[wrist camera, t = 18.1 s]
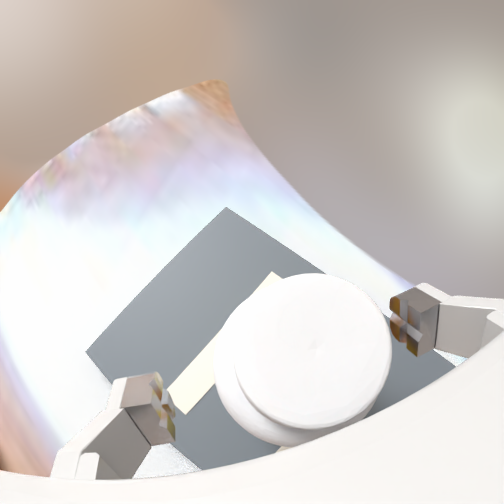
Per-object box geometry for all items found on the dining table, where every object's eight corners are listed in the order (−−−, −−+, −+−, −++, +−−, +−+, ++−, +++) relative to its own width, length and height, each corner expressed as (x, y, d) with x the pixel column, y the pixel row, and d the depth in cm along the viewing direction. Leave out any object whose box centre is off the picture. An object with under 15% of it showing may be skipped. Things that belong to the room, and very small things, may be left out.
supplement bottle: (337, 419, 14) (435, 430, 5) (237, 433, 14) (206, 475, 5) (324, 327, 17) (391, 236, 8) (229, 338, 17) (193, 254, 8)
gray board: (447, 372, 16) (459, 368, 15) (329, 539, 11) (334, 548, 10) (228, 219, 23) (226, 206, 21) (96, 356, 18) (85, 351, 16)
